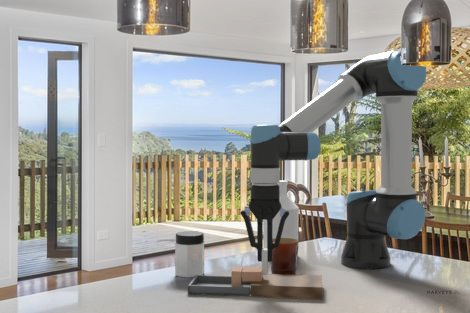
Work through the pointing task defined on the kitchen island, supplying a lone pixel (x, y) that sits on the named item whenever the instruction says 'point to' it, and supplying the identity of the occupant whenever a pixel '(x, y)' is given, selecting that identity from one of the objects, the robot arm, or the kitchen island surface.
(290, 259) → the mug
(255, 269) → the tile
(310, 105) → the robot arm
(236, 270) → the tile
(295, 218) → the bottle
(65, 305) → the kitchen island surface
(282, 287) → the board
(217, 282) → the tray
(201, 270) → the jar
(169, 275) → the kitchen island surface
